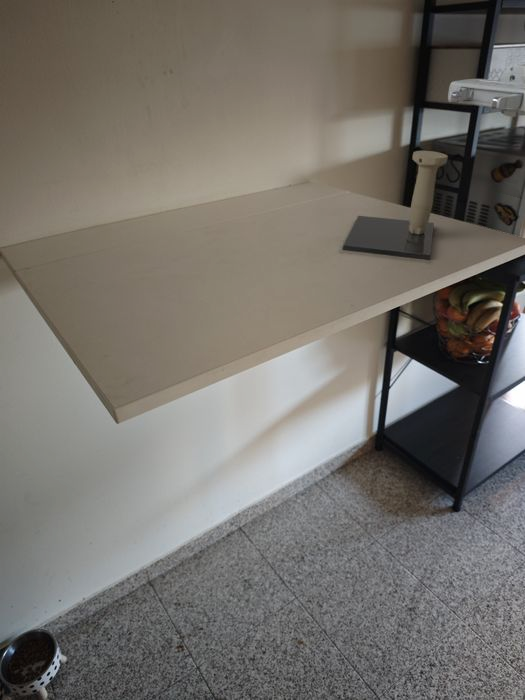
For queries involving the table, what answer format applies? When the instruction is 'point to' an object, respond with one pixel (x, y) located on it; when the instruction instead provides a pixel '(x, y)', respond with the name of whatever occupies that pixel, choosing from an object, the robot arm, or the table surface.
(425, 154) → the handle
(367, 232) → the dark grey square plate
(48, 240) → the table surface
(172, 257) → the table surface
